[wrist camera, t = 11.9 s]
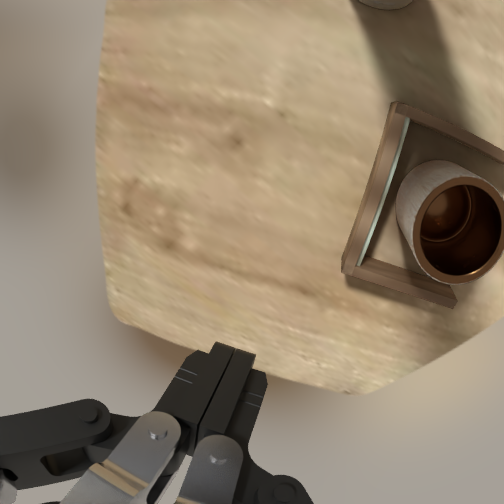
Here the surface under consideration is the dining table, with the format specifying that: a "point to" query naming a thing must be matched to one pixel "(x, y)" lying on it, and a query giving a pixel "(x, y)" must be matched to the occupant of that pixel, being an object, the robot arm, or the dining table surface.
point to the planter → (451, 221)
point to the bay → (375, 197)
